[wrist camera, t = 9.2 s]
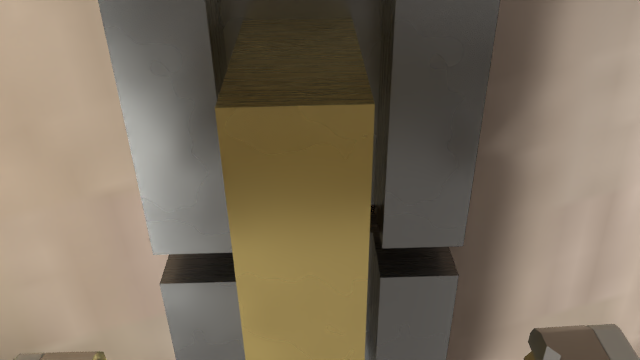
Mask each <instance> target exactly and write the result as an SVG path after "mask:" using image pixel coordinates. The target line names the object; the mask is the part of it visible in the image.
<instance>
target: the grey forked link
mask: <svg viewBox="0 0 640 360" xmlns="http://www.w3.org/2000/svg"><path fill="white" fill-rule="evenodd" d="M98 3H99V7H100V12H101V16H102V21H103V26H104V30H105V35H106V39H107V44H108V49H109V53H110V58H111V62H112V67H113V72H114V76H115V81H116V85H117V90H118V95H119V99H120V104H121V108H122V113H123V118H124V122H125V127H126V131H127V136H128V141H129V145H130V150H131V154H132V159H133V164H134V168H135V173H136V177H137V182H138V187H139V191H140V196H141V200H142V205H143V210H144V214H145V219H146V223H147V228H148V232H149V237H150V242H151V246H152V251H153V255H162V254H198V253H232V245H231V237H230V228H229V220H228V212H227V204H226V196H225V188H224V179H223V171H222V163H221V155H220V147H219V139H218V130H217V122H216V114H215V106H216V103H217V99H218V96H219V93H220V90H221V87H222V84H223V81H224V78H225V75H226V71H227V68H228V65H229V62H230V59H231V56H232V53H233V50H234V47H235V44H236V40H237V37H238V34H239V31H240V28H241V25H242V22H243V21H249V20H296V19H343V18H352V20H353V24H354V27H355V31H356V35H357V39H358V42H359V46H360V50H361V54H362V58H363V61H364V65H365V69H366V73H367V76H368V80H369V84H370V88H371V92H372V95H373V99H374V103H375V112H374V137H373V162H372V187H371V205H374V208H375V213H376V218H377V224H378V229H379V234H380V239H381V245H382V248H416V247H453V246H463V243H464V237H465V230H466V223H467V217H468V210H469V204H470V197H471V190H472V184H473V177H474V170H475V164H476V157H477V150H478V144H479V137H480V131H481V124H482V117H483V111H484V104H485V97H486V91H487V84H488V77H489V71H490V64H491V57H492V51H493V44H494V38H495V31H496V24H497V18H498V11H499V4H500V0H98Z"/></svg>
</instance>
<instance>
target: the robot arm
mask: <svg viewBox="0 0 640 360" xmlns="http://www.w3.org/2000/svg"><path fill="white" fill-rule="evenodd" d="M528 343H529V345H530V348H531V350H532V351H531V352H530V353H529V354H528V355H527V356H525V357H524V360H640V359H639V357H638V356H637V354H636V353H635V351H634V350H633V348H632V346H631V345H630V343H629V342H628V340H627V339H626V337H625V335H624V334H623V332H622V331H621V329H620V328H619V327H618V326H616V325H615V324H605V325H587V326H585V325H579V326H563V327H547V328H534V329H533V330H532V332H531V333H530V336H529V340H528ZM14 360H106V357H105V355H104V353H103V352H98V351H97V352H57V353H31V354H19V355H18V356H17V357H16V358H15V359H14Z"/></svg>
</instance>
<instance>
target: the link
mask: <svg viewBox="0 0 640 360" xmlns="http://www.w3.org/2000/svg"><path fill="white" fill-rule="evenodd" d="M458 277H459V275H458V272H457V270H456V267H455V264H454V261H453V258H452V255H451V252H450V250H449V247H416V248H382V245H381V239H380V234H379V229H378V224H377V218H376V213H370V237H369V262H368V287H367V312H366V337H365V360H446V356H447V350H448V343H449V336H450V330H451V323H452V316H453V310H454V303H455V297H456V290H457V283H458ZM160 288H161V292H162V297H163V301H164V306H165V311H166V315H167V320H168V324H169V329H170V334H171V338H172V343H173V347H174V352H175V357H176V360H246V359H245V351H244V343H243V335H242V327H241V318H240V310H239V302H238V294H237V286H236V278H235V269H234V261H233V253H198V254H169V256H168V260H167V263H166V266H165V269H164V272H163V275H162V278H161V282H160Z"/></svg>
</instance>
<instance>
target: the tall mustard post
mask: <svg viewBox="0 0 640 360" xmlns="http://www.w3.org/2000/svg"><path fill="white" fill-rule="evenodd" d="M374 112H375V103H374V99H373V95H372V92H371V88H370V84H369V80H368V76H367V73H366V69H365V65H364V61H363V58H362V54H361V50H360V46H359V42H358V39H357V35H356V31H355V27H354V24H353V20H352V18H343V19H296V20H249V21H243V22H242V25H241V28H240V31H239V34H238V37H237V40H236V44H235V47H234V50H233V53H232V56H231V59H230V62H229V65H228V68H227V71H226V75H225V78H224V81H223V84H222V87H221V90H220V93H219V96H218V99H217V103H216V106H215V114H216V122H217V130H218V139H219V147H220V155H221V163H222V171H223V179H224V188H225V196H226V204H227V212H228V220H229V228H230V237H231V245H232V253H233V261H234V269H235V278H236V286H237V294H238V302H239V310H240V318H241V327H242V335H243V343H244V351H245V359H246V360H365V337H366V312H367V287H368V262H369V237H370V212H371V187H372V162H373V137H374Z"/></svg>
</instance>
